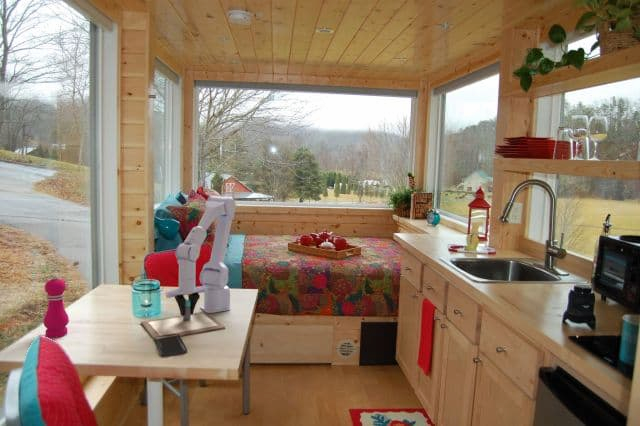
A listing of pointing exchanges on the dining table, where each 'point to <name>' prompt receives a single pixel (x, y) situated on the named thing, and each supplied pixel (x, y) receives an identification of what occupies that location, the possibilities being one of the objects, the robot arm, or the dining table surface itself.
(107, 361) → the dining table surface
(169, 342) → the phone
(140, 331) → the dining table surface
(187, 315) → the marker
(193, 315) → the drawing pad
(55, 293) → the pepper mill
